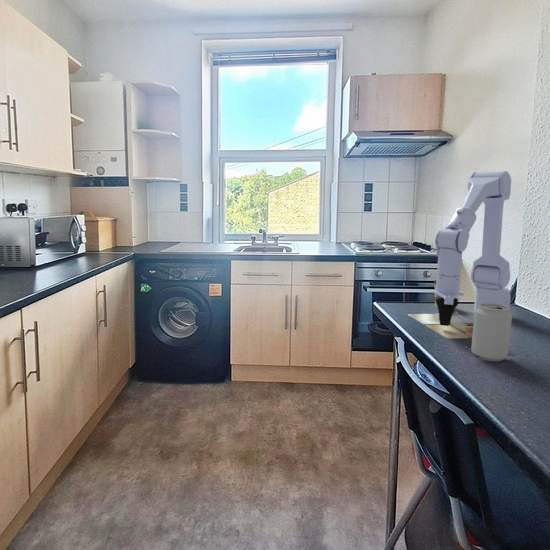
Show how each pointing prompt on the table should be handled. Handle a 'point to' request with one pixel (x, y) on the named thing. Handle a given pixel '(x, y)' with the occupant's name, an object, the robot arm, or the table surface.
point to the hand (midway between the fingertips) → (444, 324)
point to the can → (491, 332)
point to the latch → (460, 322)
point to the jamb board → (445, 331)
